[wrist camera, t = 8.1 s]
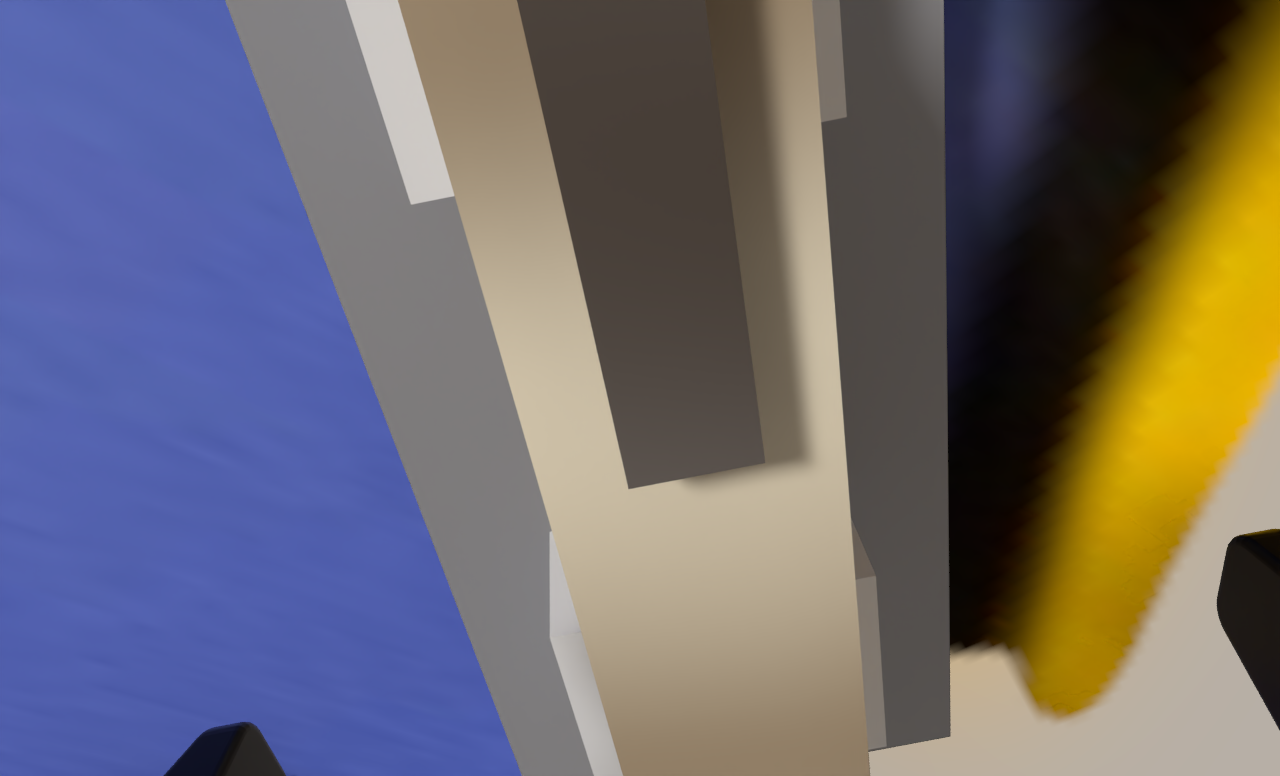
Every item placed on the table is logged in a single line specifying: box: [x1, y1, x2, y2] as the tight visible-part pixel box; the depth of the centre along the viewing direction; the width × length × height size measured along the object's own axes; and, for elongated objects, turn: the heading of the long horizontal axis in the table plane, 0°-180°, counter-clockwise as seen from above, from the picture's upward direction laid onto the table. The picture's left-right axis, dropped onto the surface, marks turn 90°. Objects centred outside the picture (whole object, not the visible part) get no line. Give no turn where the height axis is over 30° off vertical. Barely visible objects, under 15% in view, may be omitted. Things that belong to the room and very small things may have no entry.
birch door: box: [398, 0, 870, 776], centre depth 11 cm, size 16×2×9 cm, turn 10°
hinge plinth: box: [225, 0, 950, 776], centre depth 15 cm, size 22×9×6 cm, turn 10°
